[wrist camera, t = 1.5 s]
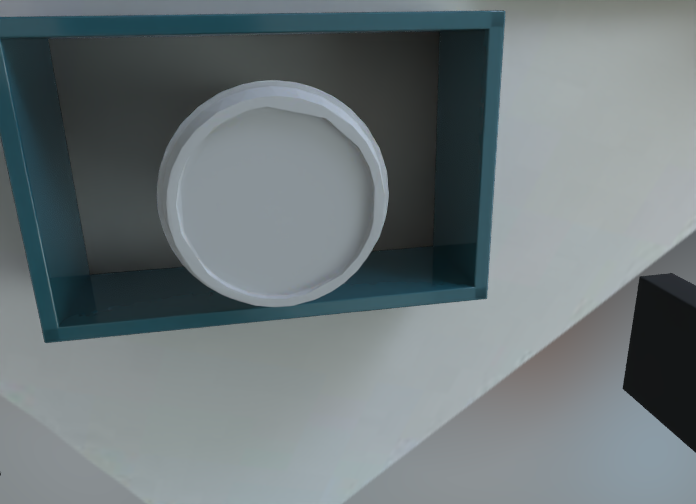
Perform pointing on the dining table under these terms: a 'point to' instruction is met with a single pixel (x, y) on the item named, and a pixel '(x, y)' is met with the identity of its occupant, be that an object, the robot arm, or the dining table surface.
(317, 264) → the disposable coffee cup
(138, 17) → the teal open box
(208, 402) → the dining table surface
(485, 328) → the dining table surface
